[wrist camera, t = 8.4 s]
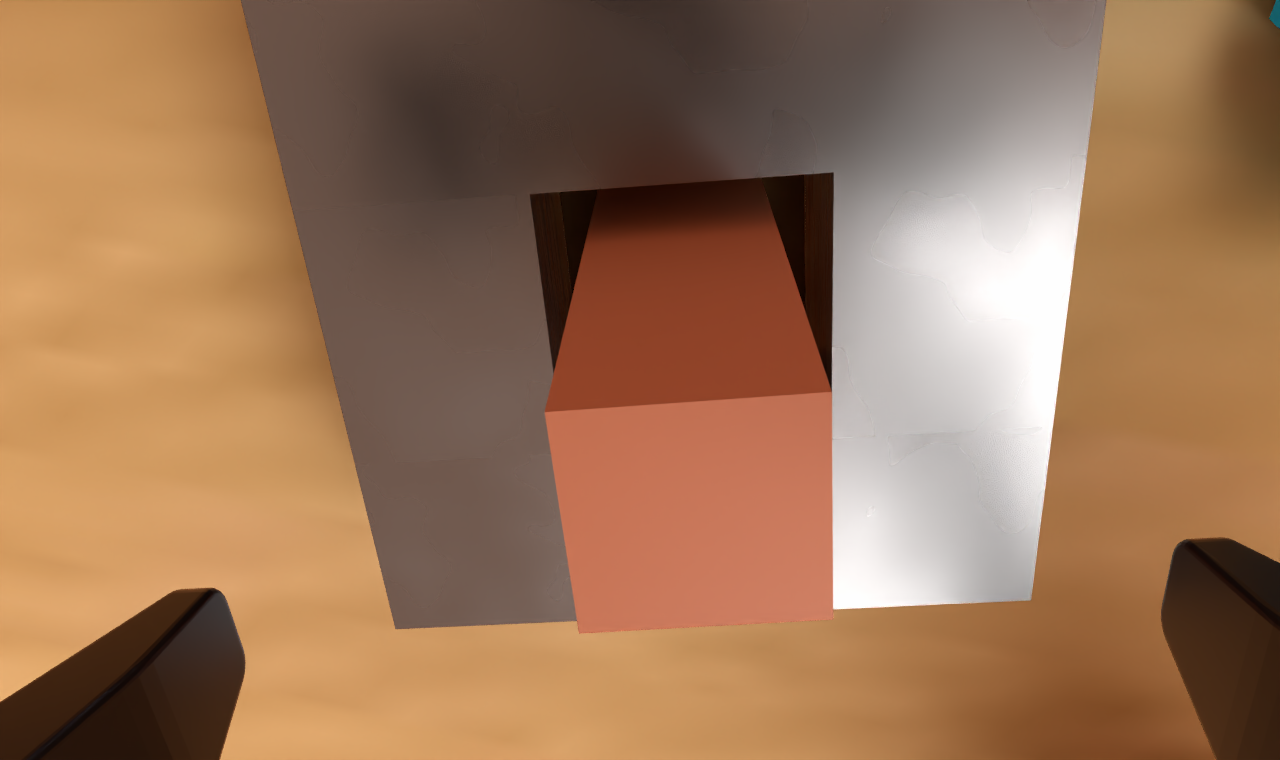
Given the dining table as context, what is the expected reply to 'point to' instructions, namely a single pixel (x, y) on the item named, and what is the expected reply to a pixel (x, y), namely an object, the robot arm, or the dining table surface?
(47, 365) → the dining table surface
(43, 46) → the dining table surface
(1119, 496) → the dining table surface
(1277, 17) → the gear
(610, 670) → the dining table surface
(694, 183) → the terracotta rectangular prism
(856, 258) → the grey square hole block
